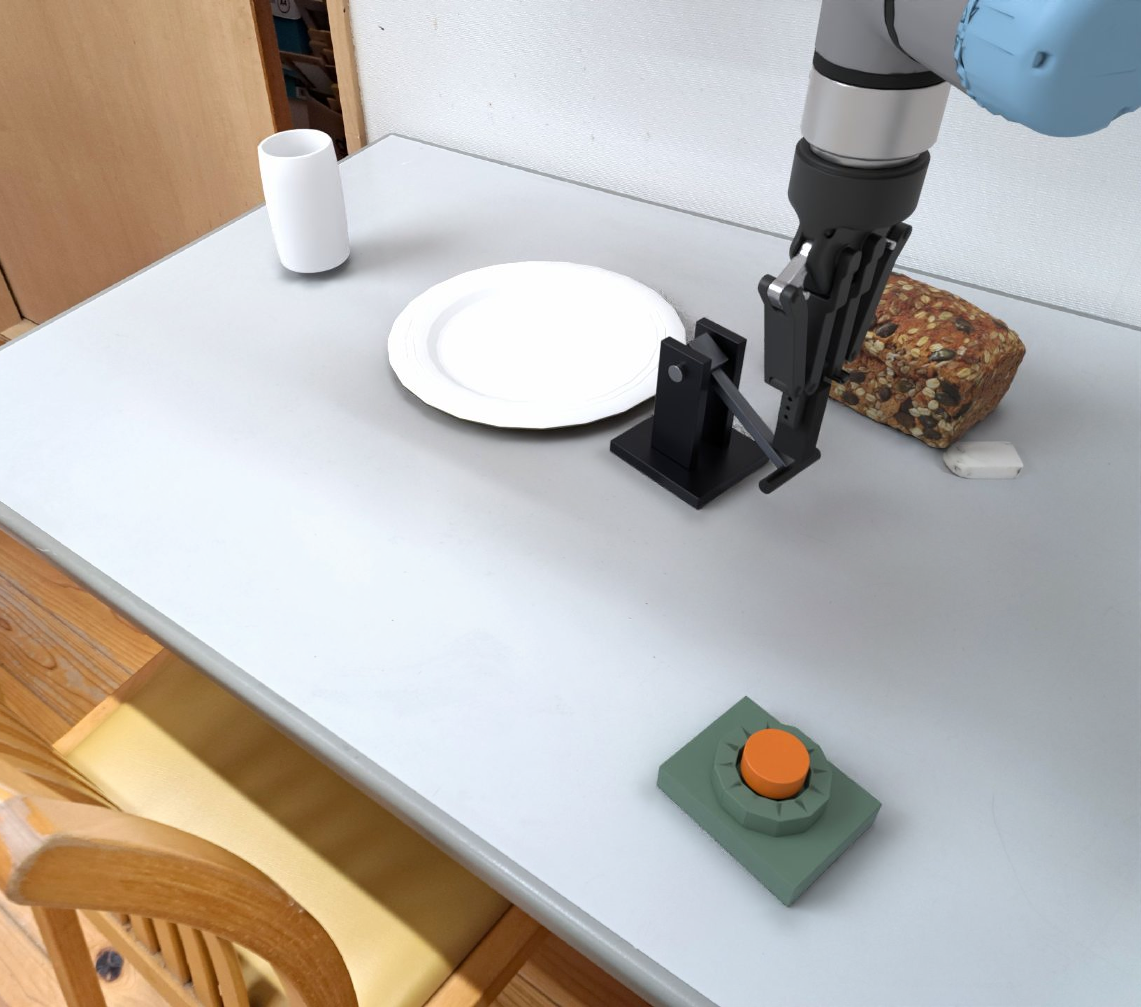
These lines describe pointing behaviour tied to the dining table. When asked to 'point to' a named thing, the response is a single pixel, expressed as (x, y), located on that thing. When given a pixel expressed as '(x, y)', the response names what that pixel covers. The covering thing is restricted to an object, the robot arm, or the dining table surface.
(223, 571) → the dining table surface
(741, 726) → the control block
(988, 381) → the bread
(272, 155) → the cup
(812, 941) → the dining table surface
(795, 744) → the button
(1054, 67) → the robot arm
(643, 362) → the plate
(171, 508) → the dining table surface
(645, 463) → the bracket
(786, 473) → the lever
